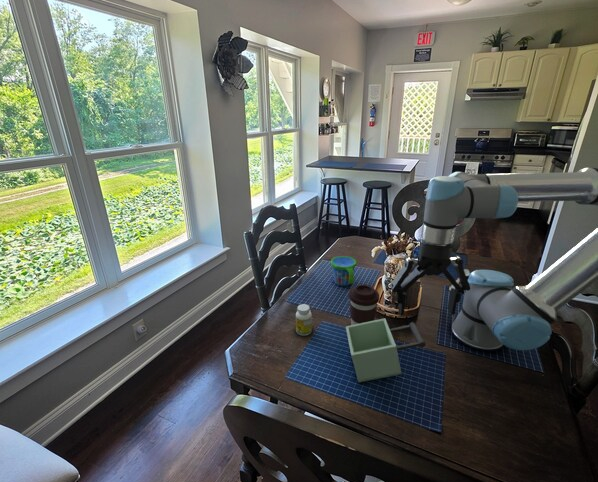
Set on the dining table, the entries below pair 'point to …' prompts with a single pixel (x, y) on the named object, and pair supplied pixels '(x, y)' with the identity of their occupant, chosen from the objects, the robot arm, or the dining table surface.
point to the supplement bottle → (303, 320)
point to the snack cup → (343, 270)
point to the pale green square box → (377, 348)
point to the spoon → (458, 278)
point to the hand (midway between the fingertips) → (425, 312)
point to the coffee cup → (363, 304)
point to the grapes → (417, 250)
